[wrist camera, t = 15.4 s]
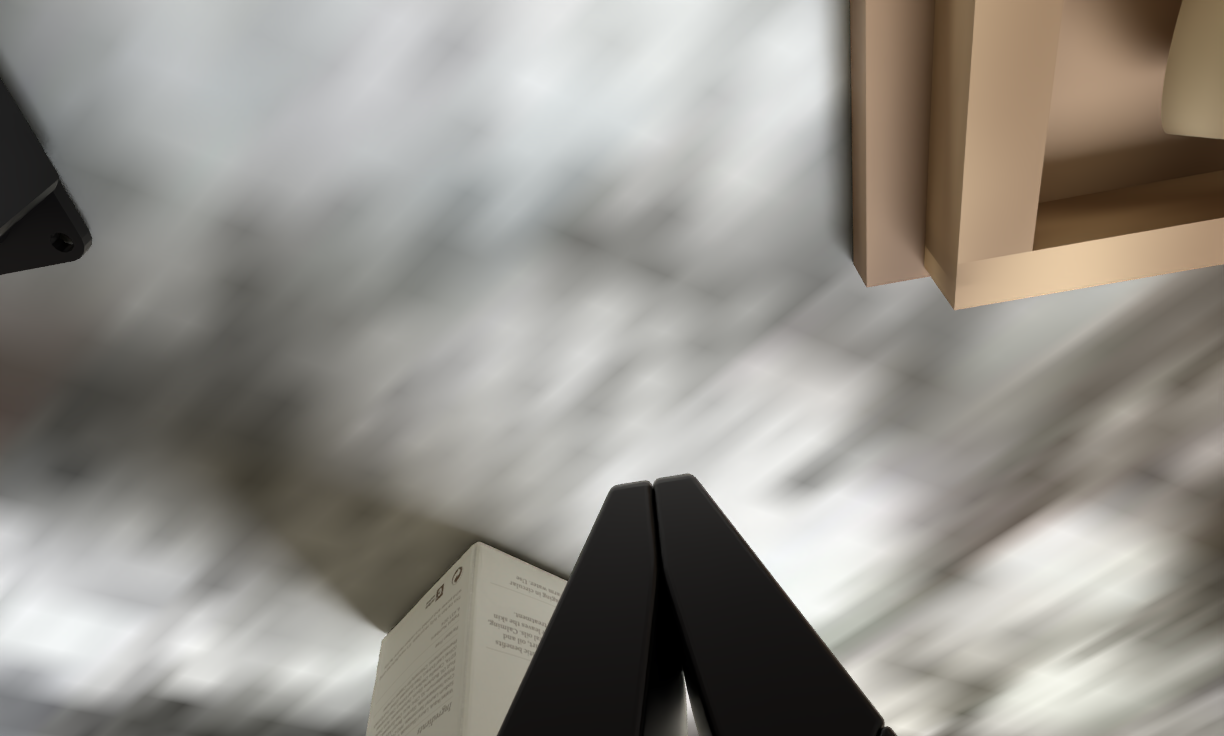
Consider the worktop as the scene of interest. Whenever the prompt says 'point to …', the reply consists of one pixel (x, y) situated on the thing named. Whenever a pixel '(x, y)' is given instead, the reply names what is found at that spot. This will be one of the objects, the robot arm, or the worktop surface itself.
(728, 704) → the robot arm
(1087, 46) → the cradle
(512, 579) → the skincare box
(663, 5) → the worktop surface
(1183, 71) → the peg
